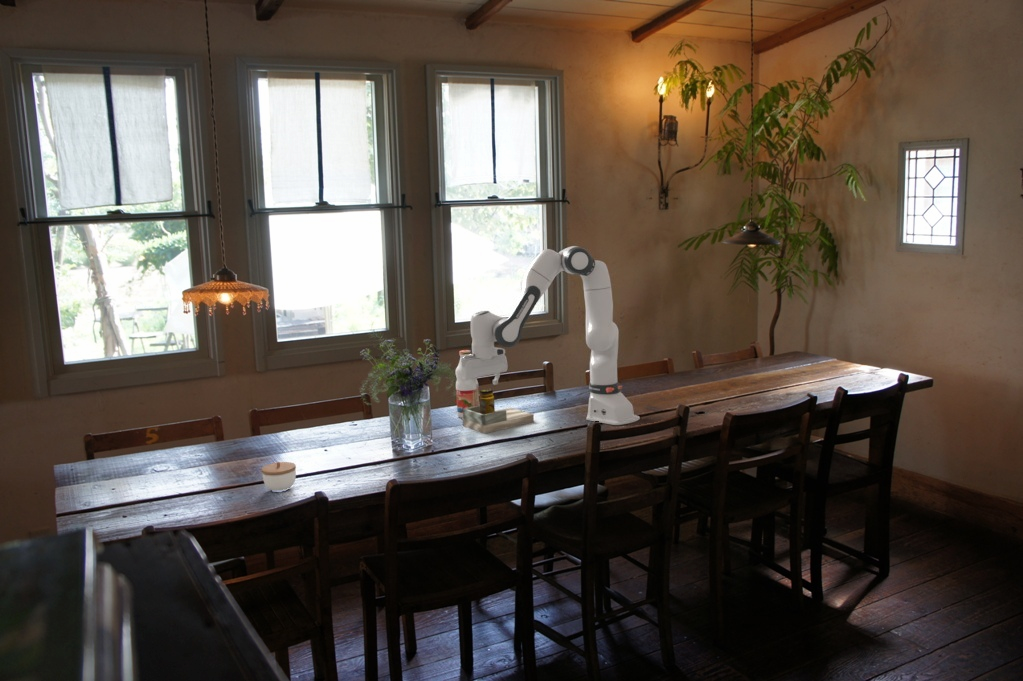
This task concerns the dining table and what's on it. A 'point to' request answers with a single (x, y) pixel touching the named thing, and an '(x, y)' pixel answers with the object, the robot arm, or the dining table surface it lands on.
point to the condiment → (486, 401)
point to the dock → (494, 419)
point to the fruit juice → (465, 388)
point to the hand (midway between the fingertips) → (485, 386)
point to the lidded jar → (279, 475)
